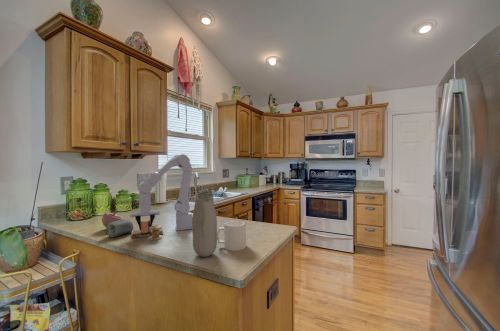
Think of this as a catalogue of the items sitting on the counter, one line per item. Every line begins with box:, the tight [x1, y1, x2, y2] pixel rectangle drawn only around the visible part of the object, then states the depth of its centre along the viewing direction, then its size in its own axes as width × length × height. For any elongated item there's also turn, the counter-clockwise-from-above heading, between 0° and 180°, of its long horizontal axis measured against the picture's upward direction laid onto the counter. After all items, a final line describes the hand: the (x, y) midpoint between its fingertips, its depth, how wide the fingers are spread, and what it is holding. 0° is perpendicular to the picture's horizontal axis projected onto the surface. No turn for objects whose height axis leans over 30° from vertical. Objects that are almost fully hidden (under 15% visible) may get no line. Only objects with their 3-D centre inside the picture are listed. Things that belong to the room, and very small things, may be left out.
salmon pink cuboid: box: [141, 219, 150, 234], centre depth 129 cm, size 4×4×6 cm
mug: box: [217, 220, 247, 252], centre depth 110 cm, size 14×10×11 cm
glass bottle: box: [192, 188, 218, 258], centre depth 100 cm, size 10×10×28 cm
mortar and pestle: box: [101, 209, 126, 228], centre depth 142 cm, size 12×12×12 cm
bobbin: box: [149, 224, 163, 241], centre depth 124 cm, size 6×6×6 cm
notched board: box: [131, 227, 164, 239], centre depth 130 cm, size 15×7×2 cm, turn 113°
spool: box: [105, 218, 134, 238], centre depth 130 cm, size 14×10×10 cm
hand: (145, 229), depth 129 cm, fingers closed on salmon pink cuboid, 4 cm apart
